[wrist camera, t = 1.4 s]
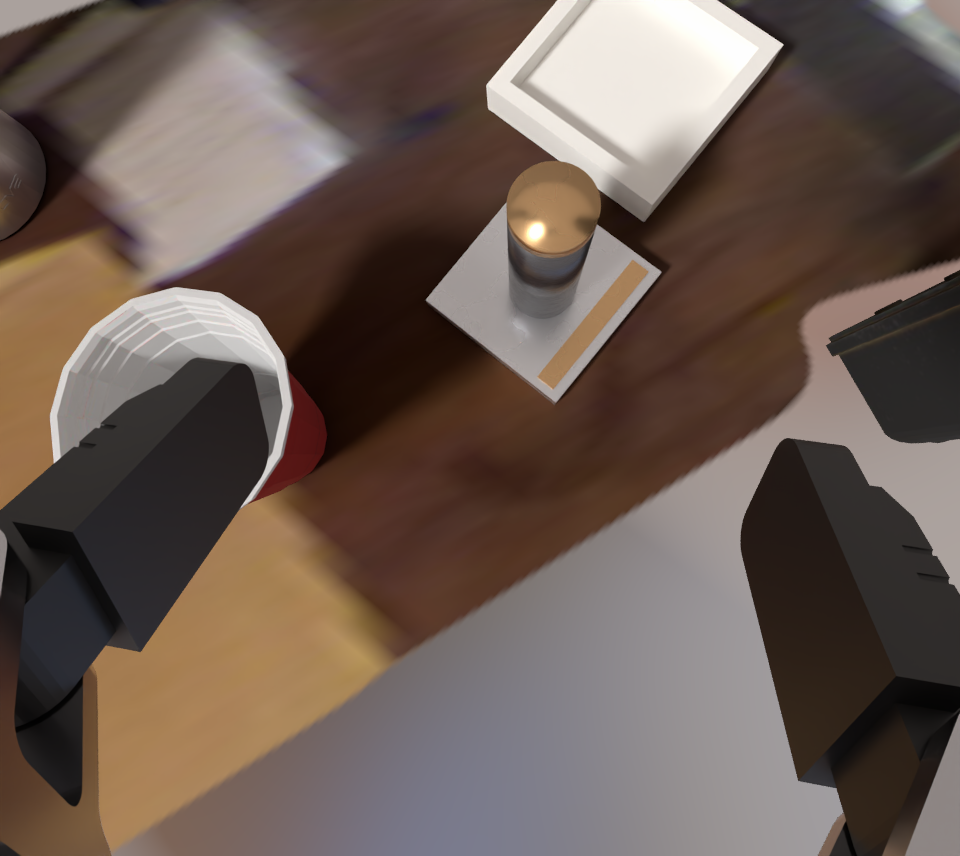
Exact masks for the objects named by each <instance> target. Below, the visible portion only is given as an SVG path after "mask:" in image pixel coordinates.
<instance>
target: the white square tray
mask: <svg viewBox="0 0 960 856" xmlns="http://www.w3.org/2000/svg"><path fill="white" fill-rule="evenodd" d="M782 46H783V44H782V43H780V42H779V41H777V40H776V39H774V38H773V37H771V36H770V35H768V34H767V33H765V32H764V31H762V30H761V29H759V28H758V27H756V26H755V25H753V24H752V23H750V22H749V21H747V20H746V19H744V18H743V17H741V16H740V15H738V14H737V13H735V12H734V11H732V10H731V9H729V8H728V7H726V6H725V5H723V4H722V3H720V2H719V1H717V0H557V2H556V3H555V4H554V5H553V6H552V8H551V9H550V10H549V11H548V12H547V14H546V15H545V16H544V17H543V18H542V20H541V21H540V22H539V23H538V24H537V25H536V27H535V28H534V29H533V30H532V31H531V33H530V34H529V35H528V36H527V37H526V39H525V40H524V41H523V42H522V43H521V45H520V46H519V47H518V48H517V49H516V50H515V52H514V53H513V54H512V55H511V56H510V58H509V59H508V60H507V61H506V62H505V64H504V65H503V66H502V67H501V68H500V70H499V71H498V72H497V73H496V74H495V75H494V77H493V78H492V79H491V80H490V81H489V83H488V84H487V85H486V86H487V100H488V109H489V110H490V111H492V112H493V113H495V114H496V115H497V116H499V117H500V118H501V119H503V120H504V121H506V122H507V123H508V124H510V125H511V126H512V127H514V128H515V129H516V130H518V131H519V132H521V133H522V134H523V135H525V136H526V137H527V138H529V139H530V140H532V141H533V142H534V143H536V144H537V145H538V146H540V147H541V148H543V149H544V150H545V151H547V152H548V153H549V154H551V155H552V156H554V157H555V158H556V159H558V160H559V161H561V162H567V163H570V164H573V165H575V166H577V167H579V168H580V169H582V170H583V171H585V172H586V173H587V174H588V175H589V176H590V177H591V178H592V180H593V181H594V183H595V185H596V186H597V188H598V189H599V190H600V191H602V192H603V193H604V194H606V195H607V196H608V197H610V198H611V199H613V200H614V201H615V202H617V203H618V204H619V205H621V206H622V207H623V208H625V209H626V210H628V211H629V212H630V213H632V214H633V215H634V216H636V217H637V218H639V219H640V220H641V221H643V222H645V221H646V219H647V218H648V217H649V216H650V215H651V213H652V212H653V211H654V210H655V208H656V207H657V206H658V205H659V204H660V202H661V201H662V200H663V199H664V197H665V196H666V195H667V194H668V192H669V191H670V190H671V189H672V188H673V186H674V185H675V184H676V183H677V181H678V180H679V179H680V178H681V177H682V175H683V174H684V173H685V172H686V170H687V169H688V168H689V167H690V166H691V164H692V163H693V162H694V161H695V159H696V158H697V157H698V156H699V154H700V153H701V152H702V151H703V150H704V148H705V147H706V146H707V145H708V143H709V142H710V141H711V140H712V139H713V137H714V136H715V135H716V134H717V132H718V131H719V130H720V129H721V128H722V126H723V125H724V124H725V123H726V121H727V120H728V119H729V118H730V117H731V115H732V114H733V113H734V112H735V110H736V109H737V108H738V107H739V105H740V104H741V103H742V102H743V101H744V99H745V98H746V97H747V96H748V94H749V93H750V92H751V91H752V90H753V88H754V87H755V86H756V85H757V83H758V82H759V81H760V80H761V79H762V77H763V76H764V75H765V74H766V72H767V71H768V69H769V68H770V66H771V65H772V63H773V61H774V60H775V58H776V56H777V55H778V53H779V51H780V50H781V48H782Z"/></svg>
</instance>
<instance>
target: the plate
mask: <svg viewBox="0 0 960 856" xmlns="http://www.w3.org/2000/svg"><path fill="white" fill-rule="evenodd" d="M506 204H507V202H506ZM506 204H505V205H504V206H503V207H502V208H501V210H500V211H499V212H498V213H497V214H496V216H495V217H494V218H493V219H492V220H491V222H490V223H489V224H488V225H487V226H486V228H485V229H484V230H483V231H482V232H481V234H480V235H479V236H478V237H477V239H476V240H475V241H474V242H473V243H472V245H471V246H470V247H469V248H468V249H467V251H466V252H465V253H464V254H463V255H462V257H461V258H460V259H459V260H458V261H457V263H456V264H455V265H454V266H453V267H452V269H451V270H450V271H449V272H448V273H447V275H446V276H445V277H444V278H443V279H442V281H441V282H440V283H439V284H438V286H437V287H436V288H435V289H434V290H433V292H432V293H431V294H430V295H429V296H428V298H427V299H426V302H427V304H428V306H430V307H431V308H432V309H434V310H435V311H436V312H437V313H439V314H440V315H441V316H442V317H444V318H445V319H446V320H448V321H449V322H450V323H451V324H453V325H454V326H455V327H456V328H458V329H459V330H460V331H461V332H463V333H464V334H465V335H467V336H468V337H469V338H470V339H472V340H473V341H474V342H475V343H477V344H478V345H479V346H480V347H482V348H483V349H484V350H486V351H487V352H488V353H489V354H491V355H492V356H493V357H494V358H496V359H497V360H498V361H499V362H501V363H502V364H503V365H505V366H506V367H507V368H508V369H510V370H511V371H512V372H513V373H515V374H516V375H517V376H519V377H520V378H521V379H522V380H524V381H525V382H526V383H527V384H529V385H530V386H531V387H532V388H534V389H535V390H536V391H538V392H539V393H540V394H541V395H543V396H544V397H545V398H546V399H548V400H549V401H550V402H551V403H553V404H554V405H555V404H556V403H557V401H558V400H559V399H560V398H561V397H562V395H563V394H564V393H565V392H566V390H567V389H568V388H569V387H570V385H571V384H572V383H573V382H574V381H575V379H576V378H577V377H578V376H579V374H580V373H581V372H582V371H583V369H584V368H585V367H586V366H587V365H588V363H589V362H590V361H591V360H592V358H593V357H594V356H595V355H596V353H597V352H598V351H599V350H600V348H601V347H602V346H603V345H604V344H605V342H606V341H607V340H608V339H609V337H610V336H611V335H612V334H613V332H614V331H615V330H616V329H617V328H618V326H619V325H620V324H621V323H622V321H623V320H624V319H625V318H626V316H627V315H628V314H629V313H630V311H631V310H632V309H633V308H634V307H635V305H636V304H637V303H638V302H639V300H640V299H641V298H642V297H643V295H644V294H645V293H646V292H647V291H648V289H649V288H650V287H651V286H652V284H653V283H654V282H655V281H656V279H657V278H658V277H659V275H660V274H661V271H660V270H658V269H657V268H655V267H654V266H653V265H651V264H650V263H649V262H647V261H646V260H645V259H643V258H642V257H641V256H639V255H638V254H636V253H635V252H634V251H632V250H631V249H630V248H628V247H627V246H626V245H624V244H623V243H622V242H620V241H619V240H617V239H616V238H615V237H613V236H612V235H611V234H609V233H608V232H607V231H605V230H604V229H603V228H601V227H600V226H599V225H597V226H596V229H595V232H594V235H593V239H592V242H591V245H590V248H589V251H588V254H587V258H586V261H585V264H584V267H583V270H582V274H581V277H580V280H579V283H578V286H577V290H576V293H575V296H574V299H573V301H572V302H571V304H570V305H569V307H568V308H567V309H566V310H565V311H563V312H562V313H561V314H559V315H557V316H555V317H552V318H547V319H537V318H533V317H530V316H527V315H525V314H524V313H522V312H521V311H520V310H519V309H518V308H517V307H516V306H515V304H514V303H513V301H512V299H511V296H510V292H509V273H508V241H507V209H506Z"/></svg>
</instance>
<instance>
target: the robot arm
mask: <svg viewBox="0 0 960 856" xmlns="http://www.w3.org/2000/svg"><path fill="white" fill-rule="evenodd" d="M45 182H46V165H45V159H44V154H43V152H42V150H41V147H40V145H39V143H38V141H37V140H36V139H35V137H34V136H33V135H32V133H31V132H30V131H29V130H27V129H26V128H25V127H24V126H22V125H21V124H20V123H19V122H17V121H16V120H15V119H13V118H12V117H10V116H9V115H8V114H6V113H5V112H4V111H2V110H1V109H0V240H3V239H5V238H6V237H8V236H9V235H11V234H13V233H14V232H16V231H17V230H18V229H19V228H20V227H21V226H22V225H23V224H25V223H26V222H27V221H28V219H29V218H30V217H31V215H32V214H33V212H34V211H35V210H36V208H37V206H38V204H39V201H40V199H41V197H42V195H43V191H44V186H45ZM100 424H101V426H100V428H94V429H93V430H92V431H91V432H90V433H89V434H87V435H86V436H85V437H84V438H83V439H82V440H81V441H79V446H78V447H72V448H71V449H70V450H69V451H68V452H67V453H66V454H64V455H63V456H62V457H61V458H60V459H59V460H58V461H56V462H55V463H54V464H53V465H52V466H51V467H50V468H48V469H47V470H46V471H45V472H44V473H43V474H41V475H40V476H39V477H38V478H37V479H36V480H35V481H33V482H32V483H31V484H30V485H29V486H28V487H27V488H25V489H24V490H23V491H22V492H21V493H20V494H18V495H17V496H16V497H15V498H14V499H13V500H12V501H10V502H9V503H8V504H7V505H6V506H5V507H4V508H2V509H1V510H0V856H112V855H111V851H110V848H109V845H108V843H107V840H106V838H105V835H104V832H103V829H102V825H101V820H100V813H99V786H98V710H97V675H96V671H95V668H94V666H93V665H92V663H93V661H94V660H95V659H96V657H97V656H98V655H99V653H100V652H101V651H102V649H103V648H104V647H105V645H107V646H112V647H117V648H123V649H128V650H133V651H138V652H141V651H142V649H143V648H144V646H145V645H146V643H147V642H148V641H149V639H150V638H151V636H152V635H153V633H154V632H155V630H156V629H157V628H158V626H159V625H160V623H161V622H162V620H163V619H164V617H165V616H166V615H167V613H168V612H169V610H170V609H171V607H172V606H173V604H174V603H175V602H176V600H177V599H178V597H179V596H180V594H181V593H182V591H183V590H184V589H185V587H186V586H187V584H188V583H189V581H190V580H191V578H192V577H193V576H194V574H195V573H196V571H197V570H198V568H199V567H200V565H201V564H202V563H203V561H204V560H205V558H206V557H207V555H208V554H209V552H210V551H211V550H212V548H213V547H214V545H215V544H216V542H217V541H218V539H219V538H220V537H221V535H222V534H223V532H224V531H225V529H226V528H227V526H228V525H229V524H230V522H231V521H232V519H233V518H234V516H235V515H236V513H237V512H238V511H239V509H240V508H241V506H242V505H243V503H244V502H245V500H246V499H247V498H248V496H249V495H250V493H251V492H252V490H253V489H254V487H255V486H256V485H257V483H258V482H259V480H260V479H261V477H262V475H263V473H264V471H265V468H266V465H267V461H268V455H269V441H268V436H267V432H266V427H265V423H264V418H263V414H262V410H261V405H260V401H259V396H258V392H257V388H256V383H255V379H254V375H253V373H252V371H251V369H250V368H249V367H248V366H247V365H246V364H243V363H236V362H229V361H221V360H214V359H206V358H199V357H198V358H193V359H191V360H190V361H188V362H187V363H186V364H185V365H184V366H183V367H182V368H181V369H179V370H178V371H177V372H176V373H175V374H174V375H173V376H172V377H171V378H169V379H168V380H167V381H166V382H165V383H164V384H163V385H162V384H159V385H157V386H155V387H153V388H151V389H149V390H147V391H145V392H143V393H141V394H139V395H137V396H135V397H133V398H131V399H129V400H127V401H125V402H124V403H123V404H122V405H121V406H120V407H118V408H117V409H116V410H115V411H114V412H113V413H112V414H110V415H109V416H108V417H107V418H106V419H105V420H104V421H102V422H101V423H100ZM932 551H933V549H932V547H931V546H930V544H929V542H928V540H927V539H926V537H925V535H924V534H923V532H922V530H921V529H920V527H919V525H918V524H917V522H916V520H915V518H914V517H913V516H912V515H911V514H910V513H909V512H908V511H907V510H906V509H904V508H903V507H902V506H901V505H900V504H899V503H898V502H897V501H895V499H893V498H892V497H891V496H890V495H889V494H888V493H887V492H886V491H885V490H884V489H883V488H882V487H876V486H869V484H868V482H867V480H866V479H865V477H864V475H863V473H862V471H861V469H860V467H859V466H858V464H857V462H856V460H855V458H854V456H853V454H852V453H851V451H850V450H849V449H848V448H847V447H845V446H842V445H835V444H827V443H820V442H812V441H805V440H797V439H790V438H786V439H784V440H783V441H781V442H780V443H779V445H778V446H777V448H776V450H775V451H774V454H773V455H772V458H771V460H770V462H769V464H768V466H767V468H766V470H765V472H764V475H763V477H762V479H761V481H760V483H759V485H758V487H757V489H756V491H755V494H754V496H753V498H752V500H751V502H750V504H749V507H748V509H747V511H746V513H745V516H744V519H743V523H742V529H741V552H742V557H743V561H744V566H745V570H746V573H747V577H748V581H749V586H750V590H751V593H752V598H753V602H754V605H755V609H756V613H757V617H758V622H759V625H760V629H761V633H762V638H763V641H764V646H765V650H766V653H767V657H768V662H769V665H770V670H771V674H772V678H773V682H774V686H775V690H776V694H777V697H778V701H779V705H780V710H781V714H782V717H783V722H784V725H785V730H786V734H787V737H788V742H789V745H790V749H791V753H792V757H793V761H794V765H795V769H796V774H797V778H798V781H802V782H807V783H812V784H817V785H823V786H828V787H833V788H837V792H838V795H839V798H840V802H841V805H842V808H843V812H844V813H842V814H841V815H840V816H839V817H838V818H837V819H836V821H835V822H834V824H833V825H832V828H831V830H830V832H829V834H828V836H827V838H826V840H825V842H824V844H823V846H822V848H821V850H820V852H819V854H818V856H960V594H959V593H958V591H957V589H956V588H955V586H954V585H951V584H949V582H948V580H949V578H950V577H949V576H948V574H947V572H946V571H945V569H944V567H943V566H942V564H941V563H940V561H939V559H938V557H937V556H933V555H932Z"/></svg>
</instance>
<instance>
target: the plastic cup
mask: <svg viewBox="0 0 960 856" xmlns="http://www.w3.org/2000/svg"><path fill="white" fill-rule="evenodd" d="M198 357H199V358H206V359H214V360H221V361H229V362H236V363H243V364H246V365H247V366H248V367H249V368H250V369H251V371H252V373H253V375H254V379H255V383H256V388H257V392H258V396H259V401H260V405H261V410H262V414H263V418H264V423H265V427H266V432H267V436H268V441H269V455H268V461H267V465H266V468H265V471H264V473H263V475H262V477H261V479H260V480H259V482H258V483H257V485H256V486H255V487H254V489H253V490H252V492H251V493H250V495H249V496H248V498H247V499H246V500H245V502H244V503H243V505H242V506H241V508H243V507H244V506H245V505H247V504H249V503H252V502H254V501H256V500H259V499H261V498H264V497H266V496H269V495H271V494H274V493H276V492H278V491H281V490H283V489H284V488H285V487H287V486H288V485H291V484H293V483H296V482H297V481H299V480H300V479H302V478H303V477H304V476H306V475H307V474H309V473H310V472H311V471H313V469H314V468H315V466H316V465H317V463H318V462H319V460H320V458H321V457H322V455H323V454H324V450H325V445H326V439H327V432H326V427H325V422H324V417H323V414H322V413H321V411H320V410H319V408H318V407H317V405H316V404H315V402H314V401H313V400H312V399H311V397H310V396H309V395H308V394H307V392H306V391H305V390H304V388H303V387H302V385H301V384H300V383H299V382H298V381H297V380H296V379H295V378H294V376H293V375H292V374H291V373H290V372H289V371H288V369H287V363H286V359H285V357H284V355H283V354H282V352H281V351H280V349H279V348H278V346H277V345H276V343H275V342H274V340H273V339H272V337H271V335H270V334H269V332H268V331H267V329H266V328H265V326H264V325H263V323H262V322H261V320H260V319H259V317H258V316H256V315H255V314H253V313H251V312H250V311H248V310H247V309H245V308H243V307H242V306H240V305H239V304H237V303H235V302H234V301H232V300H231V299H229V298H228V297H226V296H224V295H223V294H221V293H216V292H209V291H201V290H193V289H186V288H178V287H174V288H171V289H167V290H163V291H160V292H156V293H152V294H149V295H145V296H141V297H138V298H134V299H130V300H129V301H128V302H126V303H125V304H124V305H122V306H121V307H119V308H118V309H117V310H115V311H114V312H112V313H111V314H110V315H108V316H107V317H105V318H104V319H103V320H101V321H100V322H99V323H97V324H96V325H94V326H93V327H92V328H91V329H90V330H89V332H88V333H87V335H86V336H85V338H84V339H83V340H82V342H81V343H80V345H79V346H78V348H77V349H76V350H75V352H74V353H73V355H72V356H71V358H70V359H69V361H68V362H67V363H66V365H65V366H64V368H63V370H62V374H61V378H60V381H59V385H58V388H57V392H56V396H55V399H54V403H53V406H52V410H51V414H50V423H51V434H52V445H53V457H54V463H55V462H56V461H58V460H59V459H60V458H61V457H62V456H63V455H64V454H66V453H67V452H68V451H69V450H70V449H71V448H72V447H78V446H79V441H81V440H82V439H83V438H84V437H85V436H86V435H87V434H89V433H90V432H91V431H92V430H93V429H94V428H100V426H101V424H100V423H101V422H102V421H104V420H105V419H106V418H107V417H108V416H109V415H110V414H112V413H113V412H114V411H115V410H116V409H117V408H118V407H120V406H121V405H122V404H123V403H124V402H125V401H127V400H129V399H131V398H133V397H135V396H137V395H139V394H141V393H143V392H145V391H147V390H149V389H151V388H153V387H155V386H157V385H159V384H162V385H163V384H164V383H165V382H166V381H167V380H168V379H169V378H171V377H172V376H173V375H174V374H175V373H176V372H177V371H178V370H179V369H181V368H182V367H183V366H184V365H185V364H186V363H187V362H188V361H190V360H191V359H193V358H198ZM241 508H240V509H241ZM240 509H239V510H240Z"/></svg>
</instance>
